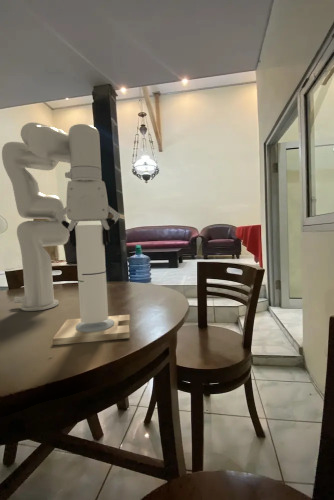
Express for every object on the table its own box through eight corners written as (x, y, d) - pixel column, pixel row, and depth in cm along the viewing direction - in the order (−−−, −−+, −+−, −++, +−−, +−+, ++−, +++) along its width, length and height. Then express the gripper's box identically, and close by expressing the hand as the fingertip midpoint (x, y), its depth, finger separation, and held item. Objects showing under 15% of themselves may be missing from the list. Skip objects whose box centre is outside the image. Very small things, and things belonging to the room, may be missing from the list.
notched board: (52, 345, 62) (52, 337, 62) (67, 324, 76) (66, 318, 75) (129, 338, 64) (129, 330, 64) (129, 319, 78) (129, 313, 78)
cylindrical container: (100, 323, 66) (95, 224, 64) (75, 322, 67) (69, 225, 65) (112, 314, 73) (107, 225, 71) (88, 314, 74) (83, 226, 72)
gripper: (46, 174, 62) (51, 248, 63) (120, 173, 64) (123, 245, 66) (55, 180, 70) (59, 246, 71) (121, 179, 72) (124, 243, 73)
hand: (90, 245), depth 68 cm, fingers closed on cylindrical container, 7 cm apart
